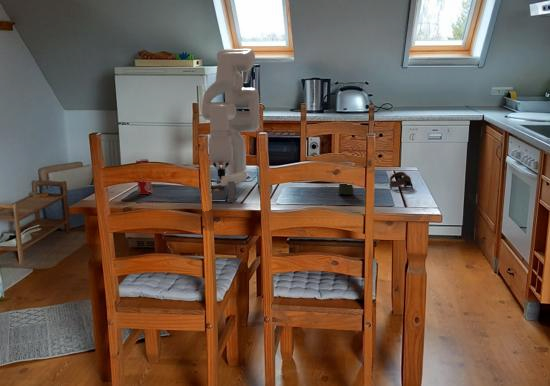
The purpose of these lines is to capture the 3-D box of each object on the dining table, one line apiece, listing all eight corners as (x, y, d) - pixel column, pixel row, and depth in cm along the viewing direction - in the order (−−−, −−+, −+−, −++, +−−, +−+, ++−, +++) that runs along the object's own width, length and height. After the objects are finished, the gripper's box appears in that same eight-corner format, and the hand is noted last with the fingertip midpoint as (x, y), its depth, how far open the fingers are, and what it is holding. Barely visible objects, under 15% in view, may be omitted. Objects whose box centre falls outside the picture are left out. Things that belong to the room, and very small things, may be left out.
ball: (212, 187, 240) (221, 188, 240) (212, 196, 241) (220, 196, 241) (212, 189, 237) (220, 190, 237) (211, 198, 238) (220, 198, 238)
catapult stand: (229, 194, 246) (228, 175, 244) (237, 194, 246) (236, 174, 245) (227, 203, 233) (226, 182, 231) (236, 202, 233) (235, 182, 231)
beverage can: (144, 196, 247) (142, 161, 244) (134, 194, 251) (132, 160, 248) (155, 193, 252) (153, 159, 249) (145, 191, 256) (143, 158, 252)
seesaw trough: (218, 180, 247) (216, 173, 247) (248, 173, 247) (246, 166, 246) (215, 187, 235) (213, 179, 234) (248, 180, 234) (246, 172, 234)
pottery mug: (417, 191, 248) (411, 176, 244) (397, 201, 249) (390, 186, 245) (408, 178, 258) (401, 163, 254) (388, 188, 259) (382, 173, 255)
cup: (210, 196, 244) (209, 178, 242) (226, 196, 244) (225, 177, 242) (208, 202, 235) (207, 182, 233) (225, 201, 235) (224, 182, 233)
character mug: (354, 197, 237) (354, 166, 234) (336, 197, 238) (336, 166, 235) (354, 191, 247) (354, 161, 244) (337, 191, 248) (337, 161, 245)
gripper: (238, 132, 244) (239, 175, 249) (202, 133, 244) (204, 176, 248) (237, 135, 237) (239, 179, 241) (200, 136, 237) (202, 180, 241)
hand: (221, 178), depth 245 cm, fingers closed
